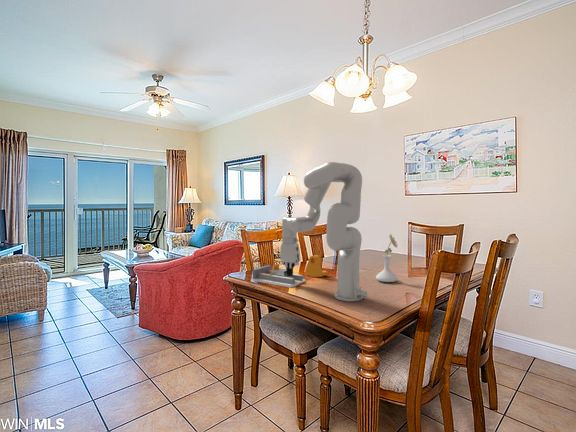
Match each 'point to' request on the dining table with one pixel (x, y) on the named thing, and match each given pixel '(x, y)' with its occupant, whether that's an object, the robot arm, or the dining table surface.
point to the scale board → (276, 277)
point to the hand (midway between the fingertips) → (289, 275)
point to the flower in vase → (387, 266)
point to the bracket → (315, 267)
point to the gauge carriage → (278, 271)
